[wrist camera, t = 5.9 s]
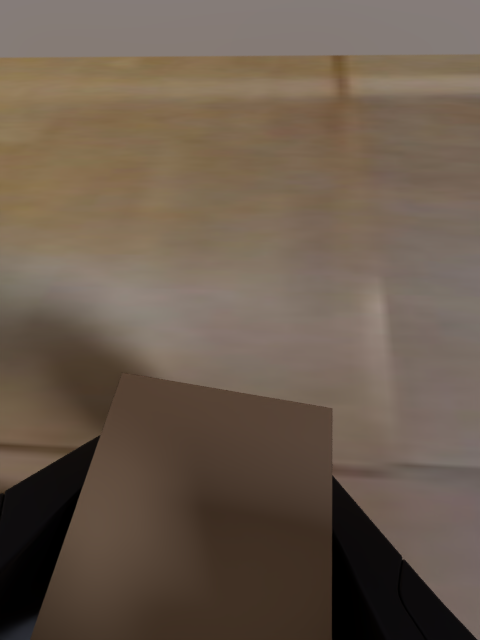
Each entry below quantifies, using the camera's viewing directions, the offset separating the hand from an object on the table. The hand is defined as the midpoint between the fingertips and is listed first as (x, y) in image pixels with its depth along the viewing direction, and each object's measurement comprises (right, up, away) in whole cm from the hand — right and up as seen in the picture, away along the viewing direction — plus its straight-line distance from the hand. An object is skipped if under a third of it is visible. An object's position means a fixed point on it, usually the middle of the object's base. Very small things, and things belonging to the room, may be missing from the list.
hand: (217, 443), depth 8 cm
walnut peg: (-1, -4, +5) cm, 7 cm away
